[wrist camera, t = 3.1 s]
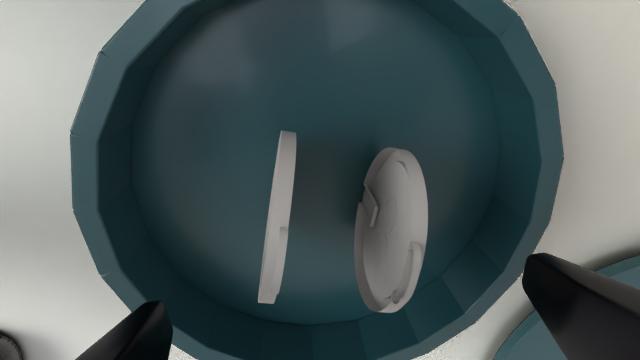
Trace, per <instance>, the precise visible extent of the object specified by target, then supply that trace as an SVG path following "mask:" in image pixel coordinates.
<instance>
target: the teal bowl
mask: <svg viewBox="0 0 640 360" xmlns="http://www.w3.org/2000/svg"><path fill="white" fill-rule="evenodd" d="M281 130H283V131H289V132H295V133H296V160H295V172H294V183H293V192H292V201H291V210H290V218H289V225H288V240H287V248H286V256H285V263H284V269H283V275H282V281H281V286H280V290H279V294H277V295H276V299H275V302H274V304H269V303H258V295H259V285H260V276H261V267H262V259H263V251H264V243H265V235H266V227H267V220H268V212H269V205H270V198H271V190H272V183H273V176H274V170H275V163H276V156H277V150H278V144H279V138H280V133H281ZM70 132H71V134H70V145H71V174H72V203H73V209H74V211H73V212H74V215H75V217H76V219H77V222H78V224H79V227H80V229H81V231H82V234H83V236H84V239H85V241H86V243H87V246H88V248H89V251H90V253H91V255H92V258H93V260H94V263H95V265H96V267H97V270H98V272H99V274H100V275H101V277H102V278H103V280H104V281H105V282H106V283H107V284H108V285H109V286H110V288H111V289H112V290H113V291H114V292H115V293H116V294H117V296H118V297H119V298H120V299H121V300H122V301H123V302H124V304H125V305H126V306H127V307H128V308H129V309H130V310H131V312H133V311H134V310H136V309H137V308H138V307H139V306H140V305H142V304H143V303H145V302H149V301H157V300H161V301H163V302H164V303H165V305H166V307H167V310H168V313H169V316H170V319H171V322H172V325H173V337H172V342H171V343H172V344H173V345H175V346H176V347H178V348H179V349H181V350H183V351H184V352H186V353H187V354H189V355H190V356H192V357H194V358H195V359H198V360H411V359H414V358H417V357H419V356H422V355H425V354H428V353H429V352H431V351H432V350H434V349H435V348H437V347H438V346H440V345H442V344H443V343H445V342H446V341H448V340H449V339H451V338H452V337H454V336H455V335H457V334H459V333H460V332H462V331H463V330H465V329H466V328H468V327H469V326H471V325H473V324H474V323H476V321H477V320H478V319H479V318H480V317H481V316H482V315H483V314H484V313H485V312H486V311H487V310H488V309H489V308H490V307H491V306H492V305H493V304H494V303H495V302H496V301H497V300H498V299H499V297H500V296H501V295H502V294H503V293H504V292H505V291H506V290H507V289H508V288H509V287H510V286H511V285H512V284H513V283H514V282H515V281H516V280H517V277H520V275H521V273H522V271H523V269H524V268H525V263H526V258H527V257H528V256H529V255H531V254H532V253H533V251H534V249H535V248H536V246H537V244H538V242H539V240H540V239H541V237H542V235H543V233H544V231H545V230H546V228H547V226H548V224H549V222H550V219H551V214H552V210H553V205H554V201H555V196H556V192H557V187H558V182H559V178H560V173H561V169H562V164H563V160H564V157H563V156H564V154H563V145H562V136H561V127H560V118H559V110H558V101H557V92H556V86H555V83H554V81H553V79H552V77H551V75H550V73H549V71H548V69H547V67H546V65H545V63H544V61H543V60H542V58H541V56H540V54H539V52H538V50H537V48H536V46H535V44H534V42H533V40H532V38H531V36H530V34H529V33H528V31H527V29H526V27H525V25H524V23H523V21H522V19H521V17H520V16H518V14H517V13H516V12H515V11H514V10H512V9H511V8H510V7H509V6H508V5H507V4H505V3H504V2H503V1H502V0H145V1H144V2H143V4H142V5H141V6H140V7H139V8H138V9H137V10H136V11H135V12H134V13H133V15H132V16H131V17H130V18H129V19H128V20H127V21H126V22H125V23H124V24H123V26H122V27H121V28H120V29H119V30H118V31H117V32H116V33H115V34H114V35H113V37H112V38H111V39H110V40H109V41H108V42H107V43H106V44H105V45H104V47H103V48H102V50H101V51H100V52H99V53H98V56H97V58H96V61H95V64H94V67H93V69H92V72H91V75H90V78H89V80H88V83H87V86H86V89H85V91H84V94H83V97H82V100H81V103H80V105H79V108H78V111H77V114H76V116H75V119H74V122H73V125H72V127H71V130H70ZM388 147H391V148H398V149H404V150H408V151H409V152H410V153H412V154H413V155H414V157H415V158H416V159H417V161H418V163H419V165H420V167H421V170H422V174H423V177H424V181H425V186H426V193H427V202H428V228H427V240H426V248H425V254H424V258H423V263H422V268H421V271H420V274H419V277H418V281H417V284H416V287H415V290H414V292H413V294H412V296H411V298H410V299H409V301H408V302H407V303H406V304H404V306H403V307H402V308H401V309H399V310H398V311H396V312H393V313H385V312H375V311H372V310H370V309H369V308H368V307H367V306H366V304H365V303H364V301H363V299H362V297H361V294H360V291H359V288H358V283H357V278H356V272H355V260H354V237H355V224H356V216H357V209H358V203H359V202H361V203H362V199H363V195H364V191H365V186H364V184H363V183H364V180H365V178H366V175H367V172H368V170H369V168H370V166H371V164H372V162H373V160H374V159H375V157H376V156H377V155H378V154H379V153H380V152H381V151H382V150H383V149H385V148H388Z"/></svg>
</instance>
